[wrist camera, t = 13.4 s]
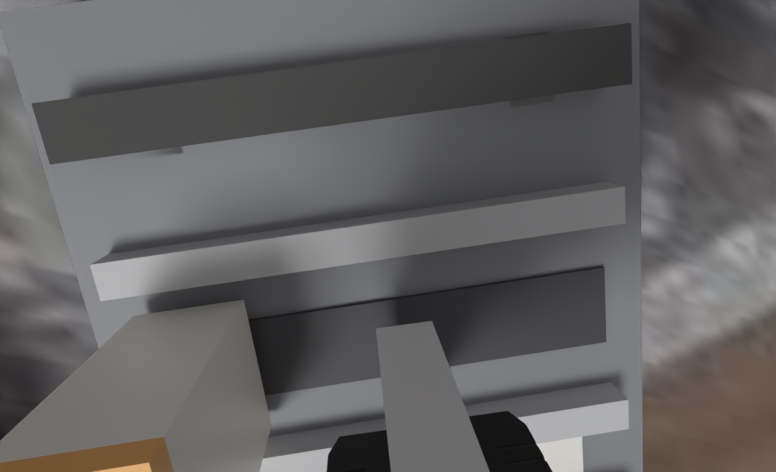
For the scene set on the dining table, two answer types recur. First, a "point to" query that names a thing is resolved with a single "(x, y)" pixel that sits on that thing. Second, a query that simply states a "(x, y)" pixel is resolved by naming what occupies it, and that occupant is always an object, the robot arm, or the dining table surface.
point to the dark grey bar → (336, 93)
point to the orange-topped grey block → (154, 401)
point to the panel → (367, 216)
